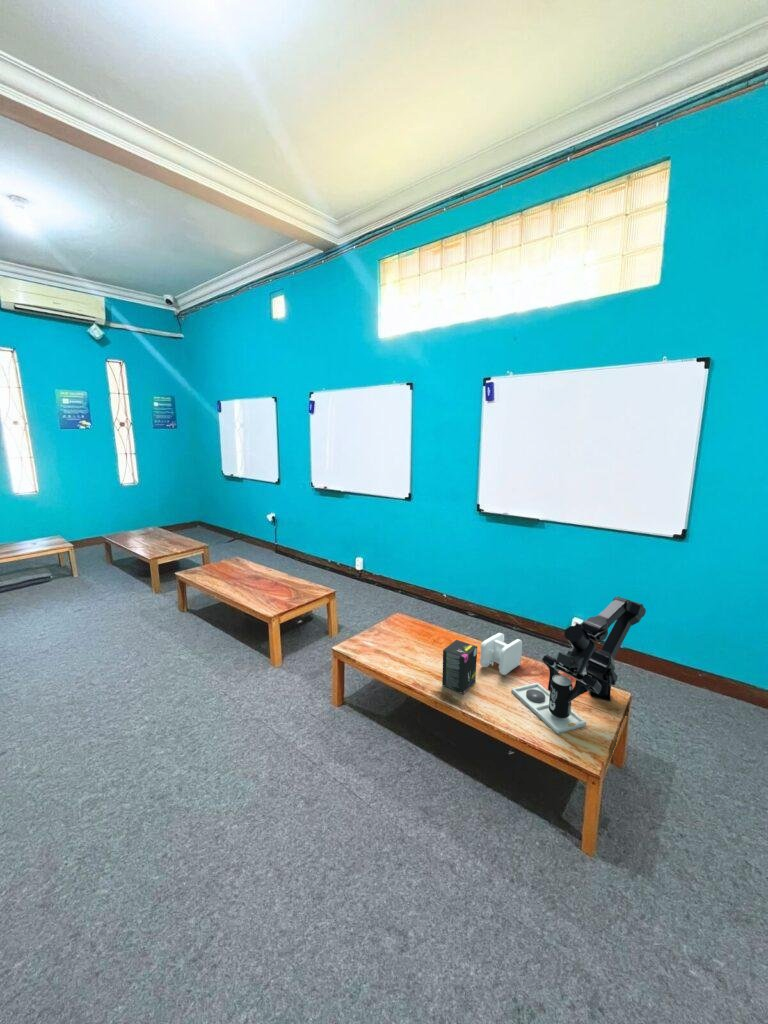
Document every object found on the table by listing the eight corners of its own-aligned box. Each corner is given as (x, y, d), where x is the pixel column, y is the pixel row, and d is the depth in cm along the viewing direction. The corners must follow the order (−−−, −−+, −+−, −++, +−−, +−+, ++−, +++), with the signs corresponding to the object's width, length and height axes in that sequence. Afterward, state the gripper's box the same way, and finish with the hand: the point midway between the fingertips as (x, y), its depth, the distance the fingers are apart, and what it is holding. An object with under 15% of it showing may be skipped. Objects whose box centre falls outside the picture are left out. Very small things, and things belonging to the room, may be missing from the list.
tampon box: (463, 695, 145) (465, 657, 142) (441, 685, 150) (442, 649, 148) (476, 681, 154) (478, 645, 151) (455, 672, 159) (456, 638, 157)
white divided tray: (537, 685, 150) (537, 681, 150) (586, 725, 129) (586, 721, 129) (511, 692, 147) (511, 687, 146) (557, 734, 125) (557, 729, 125)
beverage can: (544, 708, 135) (546, 675, 133) (560, 704, 136) (563, 672, 134) (557, 721, 128) (560, 687, 126) (574, 717, 130) (577, 683, 128)
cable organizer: (501, 679, 155) (503, 651, 153) (478, 668, 163) (479, 641, 161) (521, 665, 165) (523, 638, 163) (498, 655, 173) (500, 630, 171)
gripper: (546, 632, 138) (523, 671, 134) (599, 656, 123) (575, 701, 119) (559, 647, 144) (537, 685, 140) (611, 671, 128) (588, 715, 124)
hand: (558, 695), depth 130 cm, fingers closed on beverage can, 7 cm apart
